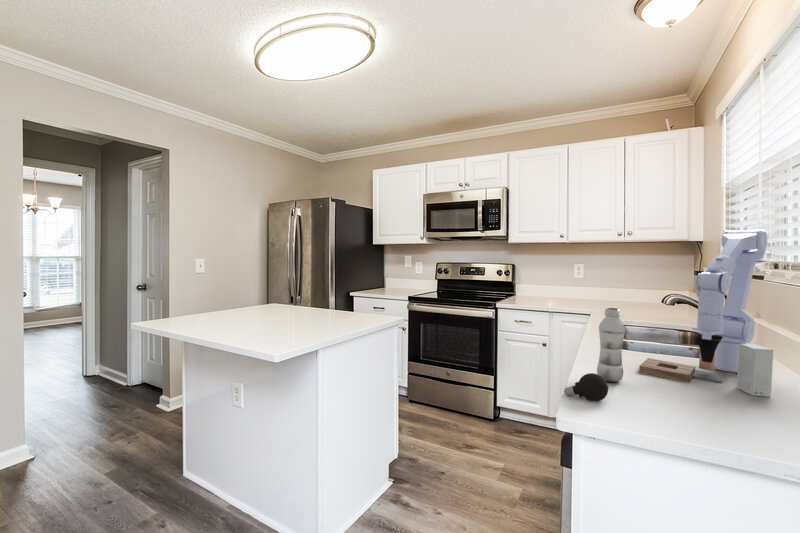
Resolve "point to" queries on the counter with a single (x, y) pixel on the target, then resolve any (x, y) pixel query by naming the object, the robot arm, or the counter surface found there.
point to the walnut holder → (667, 369)
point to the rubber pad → (708, 376)
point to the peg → (707, 363)
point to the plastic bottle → (611, 346)
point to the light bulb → (589, 387)
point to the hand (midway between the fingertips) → (707, 360)
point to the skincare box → (755, 369)
